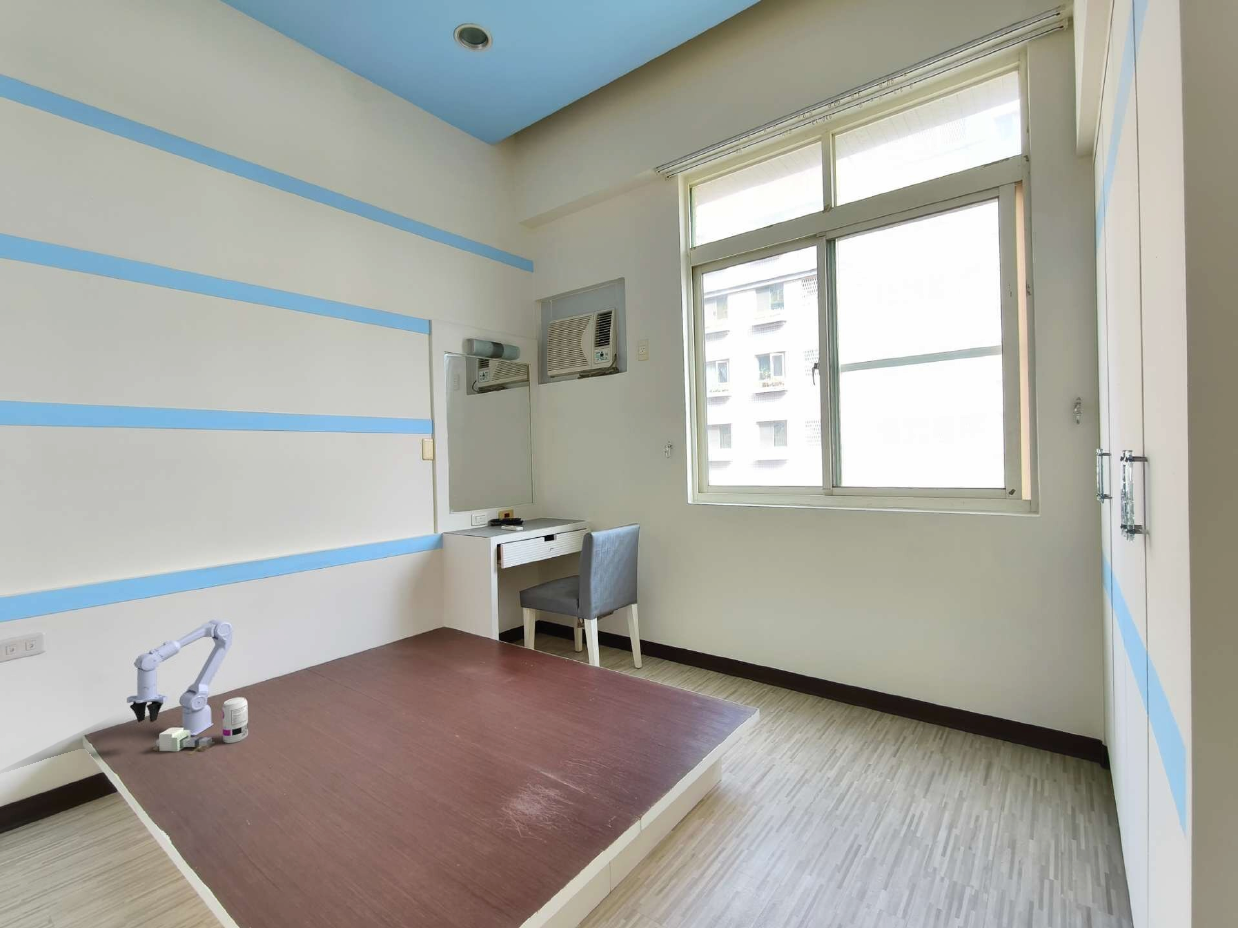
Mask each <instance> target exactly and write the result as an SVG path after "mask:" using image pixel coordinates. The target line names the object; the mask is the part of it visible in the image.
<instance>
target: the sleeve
mask: <svg viewBox="0 0 1238 928" xmlns="http://www.w3.org/2000/svg"><path fill="white" fill-rule="evenodd" d="M182 731H183V727H169V728H167V729H166V730H164V731H162V732H160V733H159V735H158V737H159V738H158V739H159V746H160V751H159V752H172V751H171V737H173V736H175V735H176V734H178V733H180V732H182Z"/></svg>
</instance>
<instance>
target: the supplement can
mask: <svg viewBox="0 0 1238 928" xmlns="http://www.w3.org/2000/svg"><path fill="white" fill-rule="evenodd" d="M248 709H249V708H248V700H247V699H246V697H244V696H237V697H233V698H230V699H228V700H226V701H224V703H223V705H222V710H221V712H222V715H221V717H222V741H223V742H225V744H233V743H237V742H240V741H243V740H244V739H246V738H247V736H249V715H248V714H249V712H248Z"/></svg>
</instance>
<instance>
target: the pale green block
mask: <svg viewBox="0 0 1238 928" xmlns="http://www.w3.org/2000/svg"><path fill="white" fill-rule="evenodd" d="M184 737H191V735H190V730H183V731H182V732H180V733H178V734H176V735H175V736H173V737H171V751H170V752H177V753H178V752H179V751H181V750H182V749H184V748H185V747H180V740H181V739H183V738H184Z"/></svg>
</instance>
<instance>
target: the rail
mask: <svg viewBox="0 0 1238 928" xmlns="http://www.w3.org/2000/svg"><path fill="white" fill-rule="evenodd" d="M215 743H216V742H215V741H213V737H210V736H209V737H208V736H207V737H205V736H200V737H198V736H193V737H191V736H190V737H184V738H183V739H181V740H180V747H184V748H186V747H187V748H190V747H191V748H194V749H193V750H192V751H190V752H188V753H187V754H188V755H193V754H195V753H196V752H197V751H199V752H205V751H207V750H209V749H210V748H212V747H213V746H214V745H215ZM155 744H156V745H155V747H154V748H152V750H153V752H161V751H160V746H159V738H158V739H156V740H155Z"/></svg>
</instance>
